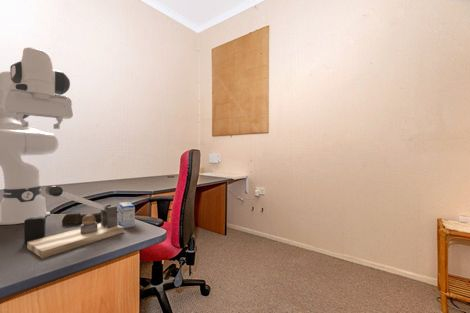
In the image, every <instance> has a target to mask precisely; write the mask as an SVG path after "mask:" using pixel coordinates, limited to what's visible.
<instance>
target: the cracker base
mask: <svg viewBox="0 0 470 313" xmlns="http://www.w3.org/2000/svg"><path fill="white" fill-rule="evenodd" d="M103 205H104V206H107V212H105V211H104V210H101V209H100V212H101V220H100V222H99V223H98V221H95V223H94V224H92V225H84V224H83V223H80V224H79V226H80V227H79V228H76V229H71V230H68V231H64V232H61V233H57V234H54V235H52V234H51V235H48V236H45V237H44V238H40V239H37V240H33V241H29V242H27V244H26V245H27V250H29V251H30V252H32V253H33V254H35V255H36V256H39V257H40V258H41V259H44V258H48V257H51V256H54V255H57V254H61V253H63V252H65V251H66V252H67V251H69V250H72V249H76V248H79V247H83V246H85V245H89V244H92V243H95V242H98V241H101V240H103V239H108V238H110V237H113V236H117V235H119V234H123V233H124V228H123V227H122V226H121V225H120V224H119V225H118V205H111V204H109V203H107V204H103Z"/></svg>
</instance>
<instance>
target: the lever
mask: <svg viewBox="0 0 470 313" xmlns="http://www.w3.org/2000/svg"><path fill="white" fill-rule="evenodd" d="M45 193H46V194H47V195H49V196H53V197H62V198H66V199H69V200H71V201H74V202H76V203H81V204H84V205H86V206H89V207H93V208H96V209H98V210H100V211H101V210H104V211H105V212H107V206H104V205H105V204H101V203H98V202H96V201H93V200H90V199H87V198H84V197H81V196H79V195H76V194H74V193H70V192H67V191H64V190H63V188H62V187H60V186H57V185H48V186H47V187H45Z"/></svg>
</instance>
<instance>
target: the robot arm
mask: <svg viewBox="0 0 470 313" xmlns="http://www.w3.org/2000/svg"><path fill="white" fill-rule="evenodd" d="M21 57H22V58H21V60H20V61H18V62H17V61H16V63H13V64H11V65H10V68H9V71H1V72H0V167H1V169H2V174H3V180H4V182H3V183H4V188H3V190H2V197H3V198H2V200H1V201H0V225H4V226H5V225H18V224H24V220H26V219H28V218H32V217H33V218H35V217H45V218H46V217H47V216H49V215H51V212H50V211H47V206H46V197H44V196H42V188H41V185H40V171H39V170H40V169H39V168H38V167H37V166H35V165H33V164H31V163H27V162H24V161H23V159H22V157H23V156H46V155H51V154H54V153H55V152H56V151H57V149H59V140H58V138H57V136H56V135H55V134H54V133H51V132H50V133H49V132H46V131H42V130H38V129H36V128H33V127H30V126H29V125H30V124H29V121H27V120H25V119H27V118H29V117H30V116H33V117H42V118H52V119H55V120H56V123H53V130H60V128H61V126H60V125H61V124H62V122H63V120H69V119H71V118H73V117H74V116H73V115H74V113H73V108H72V105H73V104H72V99H70V98H69V97H68V96H66V95H64V94H66V93H67V92H68V91H69V89H70V86H71V82H70V79H69V77H68V76H67V75H66V74H65V73H64V72H63V71H61V70H56V69H54V68H53V61H52V58H51V55H50V54H49V53H48V52H47V51H45V50H41V49H40V48H39V49H38V48H35V47H24V48H23V51H22V56H21Z"/></svg>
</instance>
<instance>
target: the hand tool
mask: <svg viewBox="0 0 470 313" xmlns="http://www.w3.org/2000/svg"><path fill="white" fill-rule="evenodd" d="M88 214H89V213H82V214H81V213H80V212H76V213H66V215H64V216H63V218H62V220H61V225H62V226H72V225H73V224H75V225H80V224H83V223H82V219H83V217H84V216H86V215H88ZM91 214H92V215H94V216H95V218H96V221H95V222H98V221H99V222H101V211H100V212H95V213H91ZM79 223H80V224H79Z"/></svg>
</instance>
